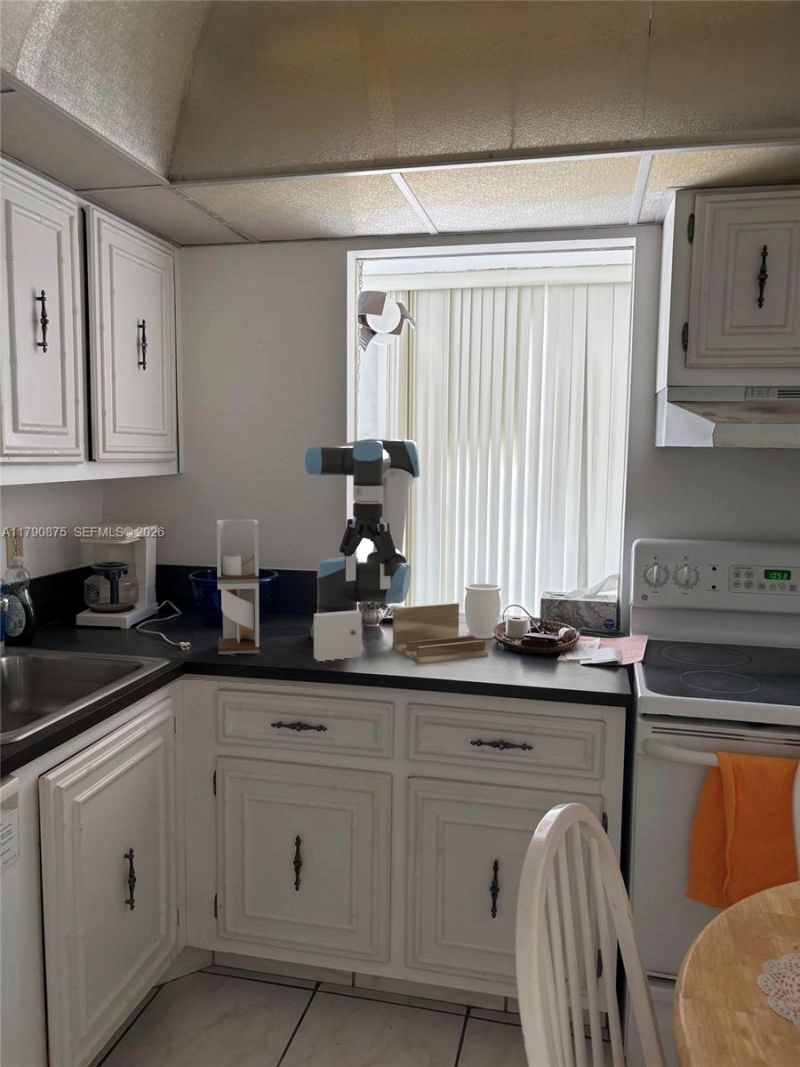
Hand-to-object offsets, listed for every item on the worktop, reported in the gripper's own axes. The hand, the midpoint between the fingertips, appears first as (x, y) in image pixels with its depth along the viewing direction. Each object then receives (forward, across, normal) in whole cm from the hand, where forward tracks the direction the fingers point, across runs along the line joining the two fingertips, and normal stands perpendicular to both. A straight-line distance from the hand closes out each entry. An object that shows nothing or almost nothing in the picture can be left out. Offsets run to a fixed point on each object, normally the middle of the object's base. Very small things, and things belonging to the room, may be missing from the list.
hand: (367, 584), depth 204 cm
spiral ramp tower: (+21, -31, -19) cm, 42 cm away
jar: (+21, +1, +44) cm, 49 cm away
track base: (+21, +5, +21) cm, 30 cm away
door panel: (+20, -7, -4) cm, 22 cm away
